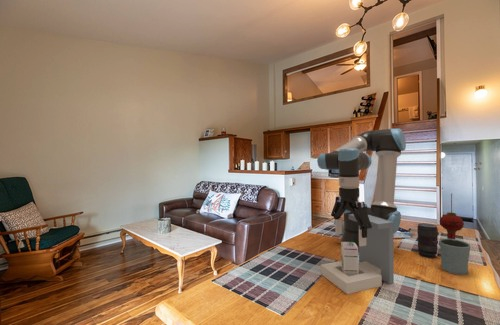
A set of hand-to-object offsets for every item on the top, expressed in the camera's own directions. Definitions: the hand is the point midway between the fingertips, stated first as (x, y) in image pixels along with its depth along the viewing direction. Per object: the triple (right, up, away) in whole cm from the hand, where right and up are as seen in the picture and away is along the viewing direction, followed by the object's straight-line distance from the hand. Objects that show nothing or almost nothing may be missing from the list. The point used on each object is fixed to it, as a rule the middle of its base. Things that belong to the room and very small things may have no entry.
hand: (349, 239), depth 97 cm
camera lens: (+47, -15, +22) cm, 54 cm away
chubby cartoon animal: (+20, -15, +56) cm, 61 cm away
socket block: (+3, -16, +1) cm, 16 cm away
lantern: (+61, -15, +25) cm, 68 cm away
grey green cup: (+47, -15, +6) cm, 50 cm away
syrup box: (0, -16, 0) cm, 16 cm away
